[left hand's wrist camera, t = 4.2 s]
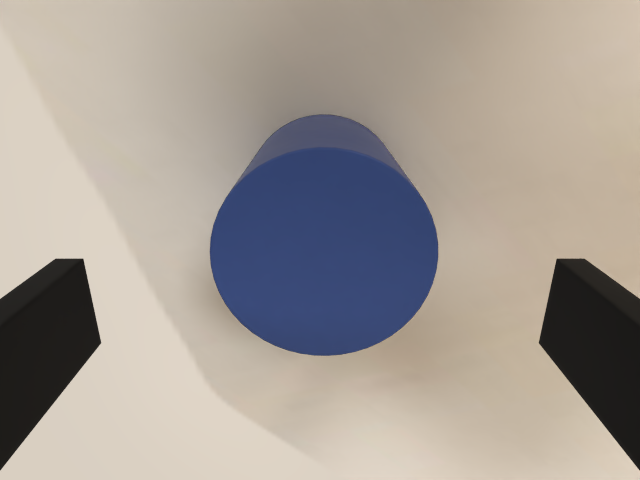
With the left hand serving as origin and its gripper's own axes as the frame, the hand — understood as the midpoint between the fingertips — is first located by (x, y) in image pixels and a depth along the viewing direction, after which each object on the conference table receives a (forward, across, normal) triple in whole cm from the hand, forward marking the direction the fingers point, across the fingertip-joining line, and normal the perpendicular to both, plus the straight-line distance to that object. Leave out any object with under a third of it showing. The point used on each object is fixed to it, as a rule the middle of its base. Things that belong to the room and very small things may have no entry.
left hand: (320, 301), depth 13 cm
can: (+10, 0, 0) cm, 10 cm away
